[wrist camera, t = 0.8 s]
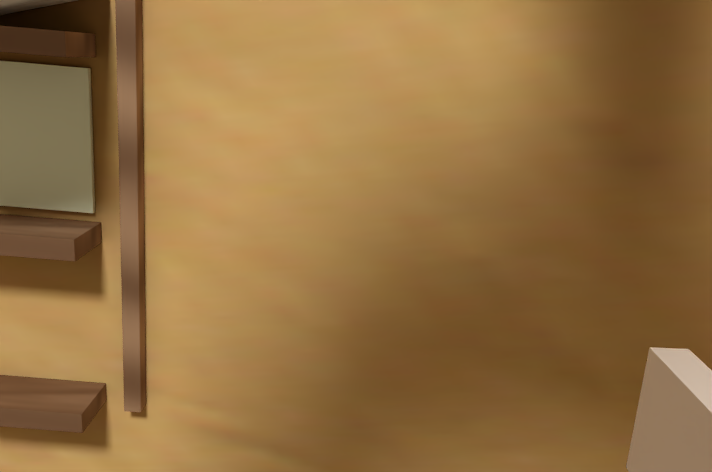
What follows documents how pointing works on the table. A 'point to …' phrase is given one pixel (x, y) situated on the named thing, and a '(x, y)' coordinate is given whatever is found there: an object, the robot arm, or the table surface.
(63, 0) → the supplement box
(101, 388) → the notch rail
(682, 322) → the table surface
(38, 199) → the pad
